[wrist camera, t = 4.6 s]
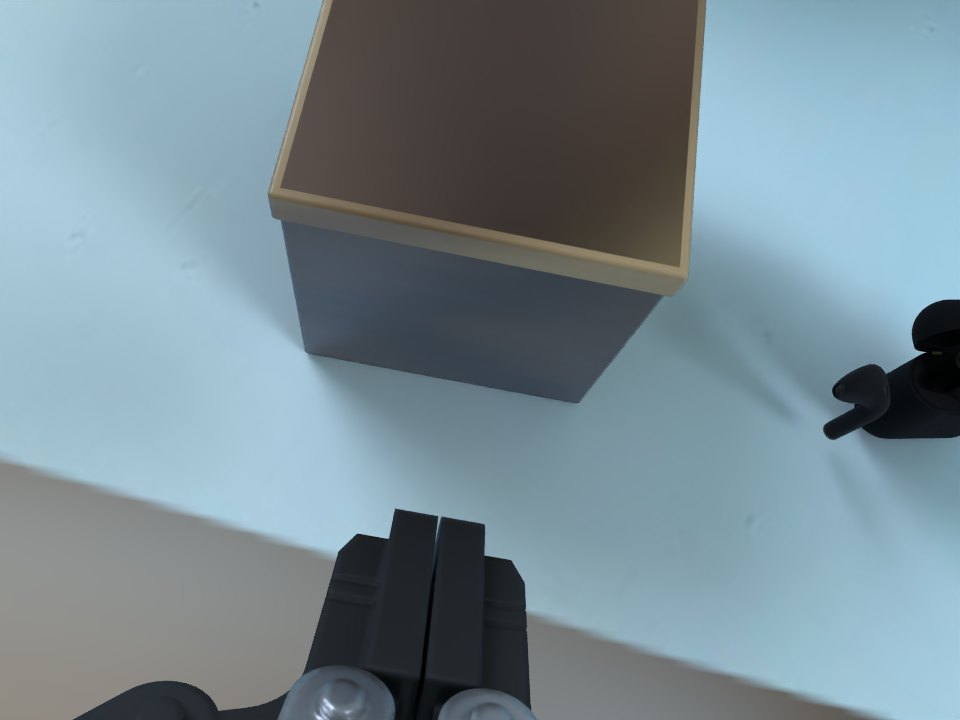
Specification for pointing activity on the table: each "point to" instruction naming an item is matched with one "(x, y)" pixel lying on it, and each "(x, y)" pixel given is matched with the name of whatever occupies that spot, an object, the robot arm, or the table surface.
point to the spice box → (490, 183)
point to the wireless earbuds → (909, 385)
